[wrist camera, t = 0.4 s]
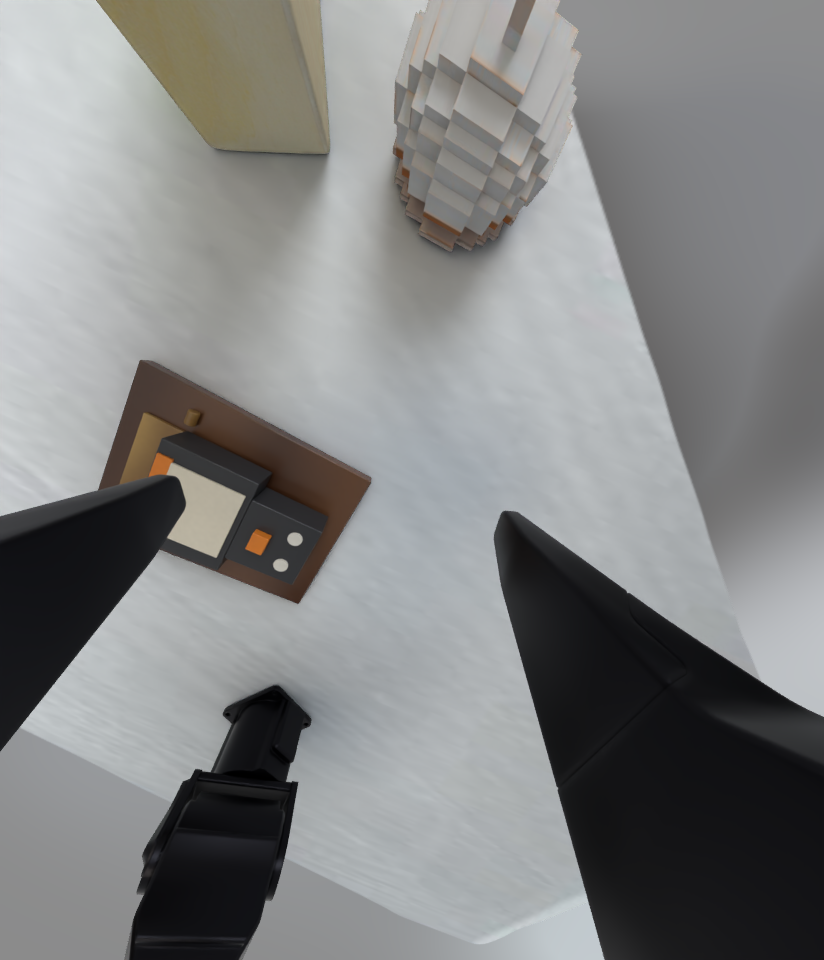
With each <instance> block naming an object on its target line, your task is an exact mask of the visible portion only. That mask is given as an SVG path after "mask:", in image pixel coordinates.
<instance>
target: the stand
mask: <svg viewBox="0 0 824 960" xmlns="http://www.w3.org/2000/svg"><path fill="white" fill-rule="evenodd" d="M185 431H189V432H191V433H193V434H195V435H197V436H199V437H201V438H203V439H205V440H207V441H209V442H211V443H213V444H215V445H217V446H219V447H221V448H223V449H225V450H227V451H229V452H232V453H234V454H236V455H238V456H240V457H242V458H244V459H246V460H248V461H250V462H252V463H254V464H256V465H258V466H260V467H262V468H264V469H266V470H268V471H270V472H272V475H271V477H270V479H269V481H268V483H267V486H266V487H267V488H269V489H271V490H273V491H275V492H278V493H280V494H282V495H284V496H286V497H288V498H290V499H292V500H294V501H296V502H298V503H301V504H303V505H305V506H307V507H309V508H311V509H313V510H315V511H317V512H319V513H321V514H324V515H326V516H328V520H327V522H326V525H325V527H324V530H323V532H322V534H321V536H320V538H319V539H318V541H317V543H316V545H315V546H314V548H313V550H312V552H311V553H310V555H309V557H308V559H307V560H306V562H305V564H304V565H303V567H302V569H301V571H300V572H299V574H298V576H297V578H296V579H295V581H294V583H293V584H292V585H291V584H288V583H286V582H283V581H281V580H278V579H276V578H273V577H271V576H268V575H266V574H263V573H261V572H258V571H256V570H254V569H251V568H249V567H246V566H244V565H241V564H239V563H236V562H234V561H231V560H229V559H227V560H226V561H225V563H224V564H223V565H222V566H221V567H220V568H219V570H214V569H212V568H209V567H206V566H204V565H201V564H199V563H196V562H194V561H191V560H189V559H186V558H184V557H181V556H178V555H176V554H173V553H171V552H168V551H166V550H163V549H161V548H160V550H162V551H165V552H167V553H170V554H172V555H175V556H178V557H180V558H183V559H185V560H188V561H190V562H193V563H195V564H198V565H201V566H203V567H206V568H208V569H211V570H213V571H216V572H218V573H221V574H223V575H226V576H229V577H231V578H234V579H236V580H239V581H241V582H244V583H246V584H249V585H252V586H254V587H257V588H259V589H262V590H264V591H267V592H269V593H272V594H274V595H277V596H280V597H282V598H285V599H287V600H290V601H292V602H295V603H297V604H299V603H300V601H301V599H302V598H303V596H304V594H305V593H306V591H307V589H308V587H309V586H310V584H311V582H312V581H313V579H314V577H315V576H316V574H317V572H318V571H319V569H320V567H321V566H322V564H323V562H324V561H325V559H326V557H327V556H328V554H329V552H330V551H331V549H332V547H333V545H334V544H335V542H336V540H337V539H338V537H339V535H340V534H341V532H342V530H343V529H344V527H345V525H346V524H347V522H348V520H349V519H350V517H351V515H352V514H353V512H354V510H355V509H356V507H357V505H358V504H359V502H360V500H361V498H362V497H363V495H364V493H365V492H366V490H367V488H368V487H369V485H370V483H371V479H372V478H371V477H369V476H367V475H365V474H363V473H361V472H360V471H358V470H356V469H354V468H352V467H350V466H348V465H346V464H345V463H343V462H341V461H339V460H337V459H335V458H333V457H331V456H330V455H328V454H326V453H324V452H322V451H320V450H318V449H316V448H314V447H313V446H311V445H309V444H307V443H305V442H303V441H301V440H299V439H298V438H296V437H294V436H292V435H290V434H288V433H286V432H284V431H283V430H281V429H279V428H277V427H275V426H273V425H271V424H269V423H268V422H266V421H264V420H262V419H260V418H258V417H256V416H254V415H252V414H251V413H249V412H247V411H245V410H243V409H241V408H239V407H237V406H236V405H234V404H232V403H230V402H228V401H226V400H224V399H222V398H221V397H219V396H217V395H215V394H213V393H211V392H209V391H207V390H206V389H204V388H202V387H200V386H198V385H196V384H194V383H192V382H190V381H189V380H187V379H185V378H183V377H181V376H179V375H177V374H175V373H174V372H172V371H170V370H168V369H166V368H164V367H162V366H160V365H159V364H157V363H155V362H153V361H149V360H140V362H139V365H138V368H137V371H136V374H135V377H134V380H133V383H132V387H131V390H130V393H129V396H128V399H127V402H126V405H125V408H124V411H123V414H122V418H121V421H120V424H119V427H118V430H117V433H116V436H115V439H114V442H113V445H112V449H111V452H110V455H109V458H108V461H107V464H106V467H105V470H104V473H103V476H102V480H101V483H100V486H99V489H98V490H101V489H105V488H109V487H113V486H116V485H120V484H124V483H128V482H132V481H135V480H139V479H143V478H147V477H148V474H149V471H150V468H151V466H152V463H153V460H154V458H155V455H156V452H157V449H158V447H159V444H160V441H161V439H162V438H164V437H167V436H171V435H174V434H178V433H181V432H185Z"/></svg>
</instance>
